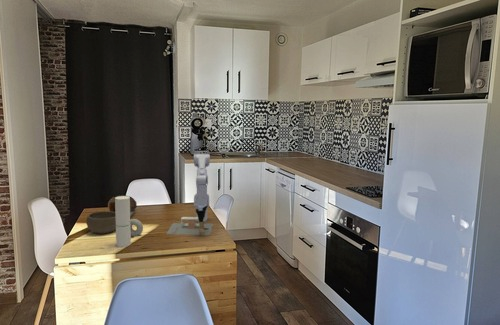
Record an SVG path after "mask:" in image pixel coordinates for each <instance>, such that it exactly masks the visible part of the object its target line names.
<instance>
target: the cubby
mask: <svg viewBox="0 0 500 325" xmlns="http://www.w3.org/2000/svg"><path fill="white" fill-rule="evenodd" d="M189 220H199V219H198V217H196V216H182V217H181V218H180V222H173V223H172V224H171V225H170V227H169V229H168V230H167V231H166V233H165V235H173V234H172V231H173V229H174V228H175V226H177V227H178V229H177V231H176V232H175V234H174V235H194V236H195V235H199V236H200V235H202V236H203V235H205V236H206V235H207V236H208V235H209V236H210V235H211V233H212V231H213V226H214V223H208V222H207V223H205V222H204V227H208V230H204V234H199V230H198V227H199V223H200V222H198V223H197V222H196V227H195V229H188V222H184V221H189Z"/></svg>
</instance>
